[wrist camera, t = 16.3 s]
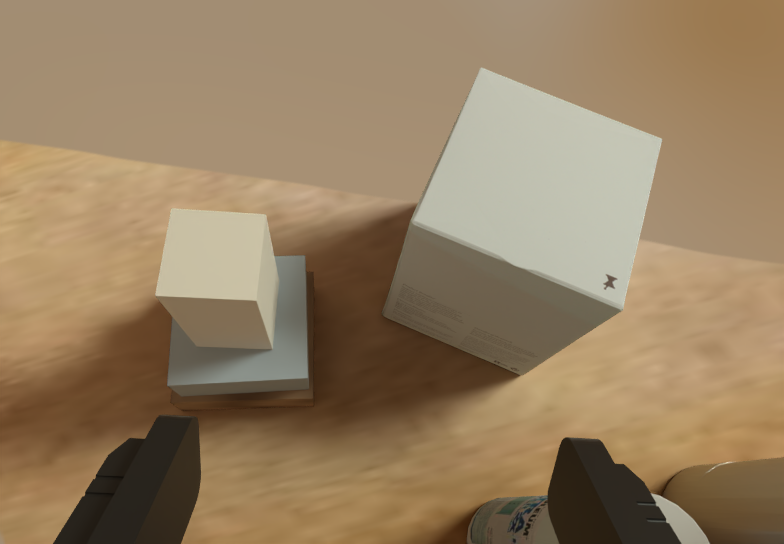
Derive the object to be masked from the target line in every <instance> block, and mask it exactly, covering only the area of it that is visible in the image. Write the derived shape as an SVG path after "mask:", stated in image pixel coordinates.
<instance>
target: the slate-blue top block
mask: <svg viewBox="0 0 784 544" xmlns="http://www.w3.org/2000/svg"><path fill="white" fill-rule="evenodd" d="M274 257H275V262H276V267H277V272H278V277H279V289H278V299H277V310H276V320H275V331H274V341H273V350H270V349H245V348H219V347H197V346H196V345H195V344H194V343H193V341H192V340H191V339H190V338H189V337H188V335H187V334H186V333H185V332H184V330H183V329H182V328H181V327H180V326H179V324H178V323H177V322H176V321H175V319H174V318H173V317H172V327H171V341H170V354H169V368H168V381H167V386H168V387H170V388H171V389H172V390H174V391H175V392H176V393H178V394H179V395H180V396H181V397H183V396H201V395H219V394H236V393H254V392H271V391H289V390H307V389H309V363H308V317H307V274H306V261H305V255H303V256H274Z"/></svg>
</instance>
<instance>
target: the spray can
mask: <svg viewBox="0 0 784 544" xmlns="http://www.w3.org/2000/svg"><path fill="white" fill-rule="evenodd" d="M651 495H652V496H653V498H654V500H655V501H656V506H659V508H660V509H661V511H662V513H663V514H664V516H665V517H666V522H667V523H669V524H670V526H671V527H672V529H673V530H674V532H675V534H676V535H677V537H678V539H679V540H680V542H681V543H682V544H710V543H709V541H708V539H707V537H706V535H705V534H704V533H703V531H702V530H701V529H700V527H699V526H698V525H697V523H696V522H695V521H694V519H693V518H691V517H690V516H689V515H688V514H687V513H686V512H685V511H683V510H682V509H681V508H680V507H679V506H678V505H676V504H674V503H673V502H671V501H669V500H667V499H665V498H663V497H661V496H659V495H655V494H651ZM547 498H548V495H547V496H527V497H507V498H496V499H494V500H491V501H488V502H487V503H486V504H484V505H483V506H482V507H480V508H479V509H478V511H477V512H476V513H475V515H474V516H473V517H472V520H471V522H470V525H469V527H468V534H467V544H559V542H558V539H557V536H556V534H555V531H554V528H553V526H552V523H551V520H550V517H549V512H548V503H547Z"/></svg>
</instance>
